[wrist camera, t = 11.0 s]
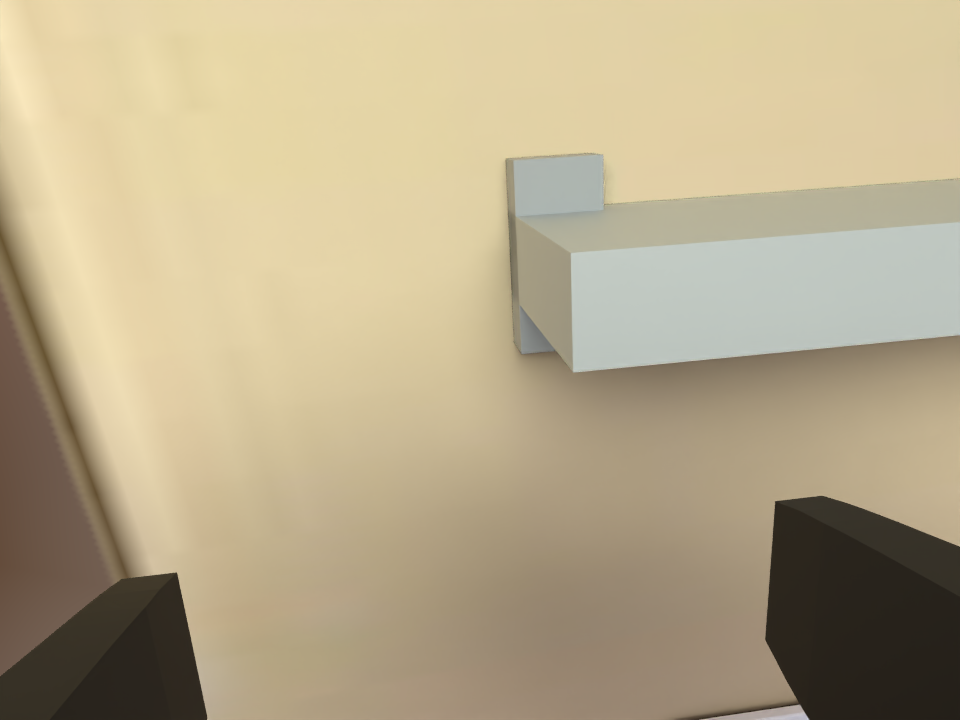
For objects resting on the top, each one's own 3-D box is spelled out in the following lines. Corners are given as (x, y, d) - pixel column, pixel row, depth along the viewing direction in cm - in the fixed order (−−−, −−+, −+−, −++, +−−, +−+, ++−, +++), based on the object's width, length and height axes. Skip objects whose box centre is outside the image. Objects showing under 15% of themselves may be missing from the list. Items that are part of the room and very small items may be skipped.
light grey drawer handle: (1098, 288, 20) (1380, 352, 14) (514, 342, 18) (574, 438, 13) (1132, 117, 19) (1458, 114, 13) (505, 158, 17) (568, 174, 11)
